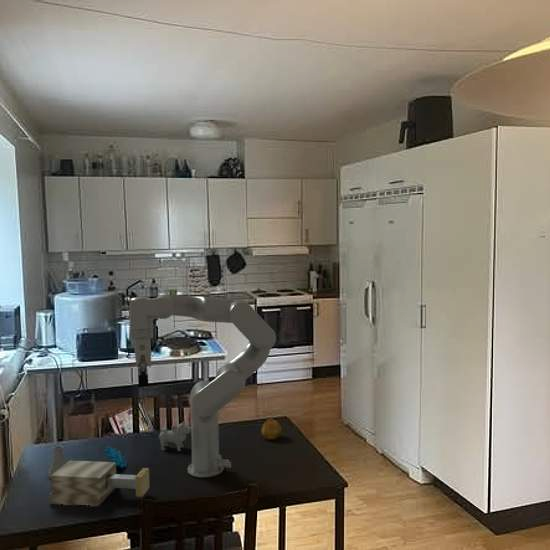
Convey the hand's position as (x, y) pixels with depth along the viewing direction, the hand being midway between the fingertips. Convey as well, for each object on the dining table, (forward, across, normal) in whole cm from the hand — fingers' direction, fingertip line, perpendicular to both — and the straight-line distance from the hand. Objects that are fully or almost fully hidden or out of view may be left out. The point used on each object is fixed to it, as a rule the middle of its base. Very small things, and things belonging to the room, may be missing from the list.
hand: (143, 382), depth 185 cm
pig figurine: (+33, +22, -12) cm, 41 cm away
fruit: (+33, +23, -51) cm, 65 cm away
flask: (+33, +8, +29) cm, 45 cm away
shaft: (+31, -13, +10) cm, 35 cm away
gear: (+33, +10, +10) cm, 36 cm away
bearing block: (+32, -10, +19) cm, 39 cm away
